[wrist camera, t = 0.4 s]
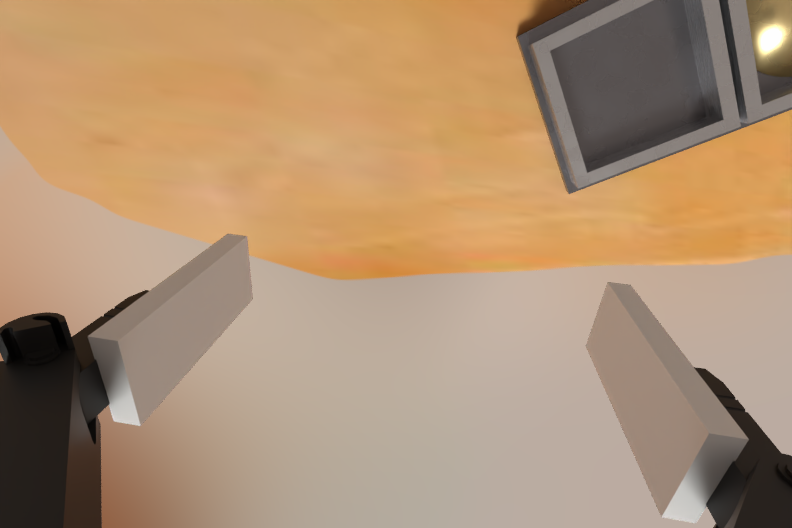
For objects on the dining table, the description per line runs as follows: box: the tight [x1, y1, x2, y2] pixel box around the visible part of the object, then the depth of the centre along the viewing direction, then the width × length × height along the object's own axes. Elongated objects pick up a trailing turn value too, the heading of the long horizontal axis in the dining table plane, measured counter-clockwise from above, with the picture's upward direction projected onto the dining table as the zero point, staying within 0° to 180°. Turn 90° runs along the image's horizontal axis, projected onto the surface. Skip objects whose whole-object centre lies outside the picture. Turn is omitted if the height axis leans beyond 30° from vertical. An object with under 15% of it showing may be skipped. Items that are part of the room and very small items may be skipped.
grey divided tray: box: [516, 0, 792, 194], centre depth 31 cm, size 14×25×4 cm, turn 115°
